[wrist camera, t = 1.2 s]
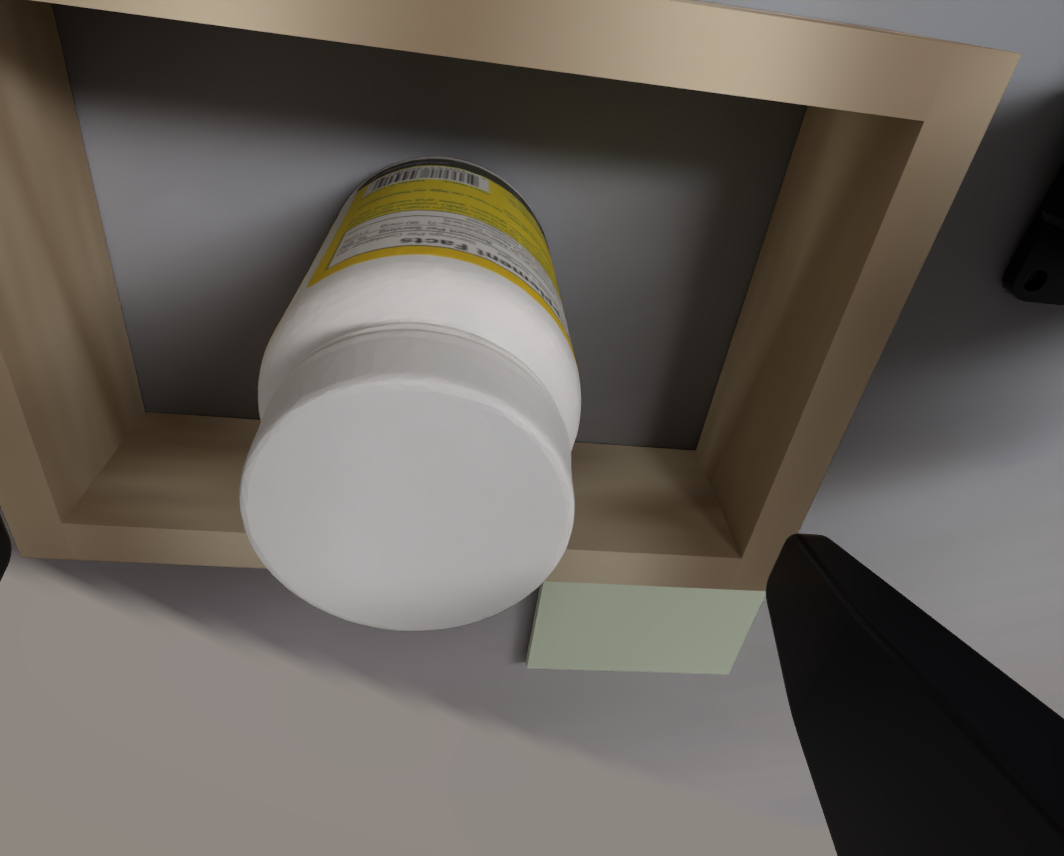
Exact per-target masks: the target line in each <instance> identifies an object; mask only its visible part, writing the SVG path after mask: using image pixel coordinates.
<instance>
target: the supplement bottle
mask: <svg viewBox="0 0 1064 856" xmlns="http://www.w3.org/2000/svg"><path fill="white" fill-rule="evenodd" d="M258 406H259V415H260V420H261V424H260V426H259V429H258V431H257V433H256V436H255V438H254V440H253V442H252V445H251V447H250V450H249V452H248V455H247V458H246V461H245V464H244V466H243V469H242V475H241V480H240V488H239V502H240V513H241V517H242V521H243V527H244V529H245V532H246V534H247V537H248V539H249V542H250V544H251V546H252V548H253V549H254V551H255V552H256V554H257V556H258V557H259V559H260V560H261V562H262V563H263V564H264V566H265V567H266V568H267V569H268V570H269V571H270V572H271V573H272V574H273V575H274V577H275V578H276V579H278V580H279V581H280V582H281V583H282V584H283V585H284V586H285V587H286V588H287V589H289V590H290V591H291V592H293V593H294V594H295V595H297V596H298V597H300V598H301V599H303V600H305V601H306V602H308V603H309V604H311V605H313V606H315V607H317V608H319V609H321V610H323V611H325V612H327V613H329V614H331V615H334V616H337V617H339V618H342V619H345V620H347V621H350V622H354V623H358V624H362V625H366V626H371V627H375V628H379V629H388V630H399V631H423V630H438V629H446V628H454V627H458V626H463V625H467V624H470V623H473V622H477V621H480V620H483V619H485V618H488V617H491V616H493V615H496V614H498V613H500V612H502V611H504V610H505V609H507V608H509V607H511V606H513V605H515V604H516V603H518V602H520V601H521V600H522V599H524V598H525V597H527V596H528V595H529V594H530V593H532V592H533V591H534V590H535V589H537V588H538V587H539V586H540V585H541V584H542V583H543V582H544V581H545V579H546V578H547V577H548V576H549V575H550V574H551V572H552V571H553V570H554V568H555V567H556V565H557V564H558V563H559V561H560V559H561V557H562V556H563V554H564V552H565V550H566V548H567V545H568V542H569V539H570V535H571V532H572V527H573V522H574V515H575V500H574V492H573V483H572V471H571V451H572V448H573V445H574V442H575V439H576V436H577V433H578V427H579V422H580V414H581V387H580V379H579V372H578V368H577V363H576V359H575V355H574V351H573V347H572V342H571V338H570V334H569V330H568V326H567V322H566V318H565V314H564V310H563V306H562V302H561V297H560V293H559V289H558V285H557V281H556V277H555V272H554V268H553V264H552V260H551V257H550V253H549V248H548V245H547V241H546V238H545V235H544V232H543V230H542V227H541V225H540V223H539V221H538V219H537V217H536V215H535V214H534V212H533V210H532V208H531V207H530V206H529V204H528V203H527V202H526V200H525V199H524V198H523V197H522V196H521V194H520V193H519V192H518V191H517V190H515V189H514V188H513V187H512V186H511V185H510V184H509V183H508V182H506V181H505V180H504V179H502V178H501V177H500V176H498V175H497V174H495V173H493V172H491V171H489V170H488V169H486V168H483V167H481V166H479V165H477V164H474V163H471V162H468V161H465V160H461V159H457V158H452V157H442V156H428V157H418V158H412V159H407V160H404V161H400V162H397V163H395V164H392V165H390V166H388V167H385V168H383V169H382V170H380V171H378V172H376V173H375V174H373V175H372V176H371V177H369V178H368V179H367V180H365V181H364V182H363V183H362V184H361V185H360V186H359V187H358V188H357V189H356V190H355V191H354V192H353V193H352V194H351V196H350V197H349V198H348V200H347V201H346V203H345V204H344V206H343V207H342V209H341V211H340V213H339V215H338V216H337V218H336V220H335V222H334V223H333V225H332V227H331V228H330V230H329V233H328V235H327V237H326V238H325V240H324V242H323V244H322V246H321V248H320V250H319V252H318V254H317V255H316V257H315V259H314V261H313V263H312V265H311V266H310V268H309V270H308V272H307V274H306V276H305V277H304V279H303V281H302V283H301V285H300V286H299V288H298V290H297V292H296V293H295V295H294V297H293V299H292V301H291V302H290V304H289V306H288V308H287V309H286V311H285V313H284V315H283V316H282V318H281V320H280V322H279V323H278V325H277V327H276V329H275V330H274V332H273V334H272V336H271V338H270V340H269V343H268V345H267V347H266V350H265V353H264V356H263V359H262V363H261V368H260V374H259V381H258Z"/></svg>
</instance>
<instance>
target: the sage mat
mask: <svg viewBox="0 0 1064 856" xmlns="http://www.w3.org/2000/svg"><path fill="white" fill-rule="evenodd" d="M765 595H766V591H748V590H726V589H704V588H682V587H660V586H638V585H616V584H594V583H572V582H550V581H544V582H543V583H542V584H541V585H540V589H539V594H538V599H537V604H536V609H535V615H534V620H533V625H532V630H531V636H530V641H529V646H528V651H527V656H526V664H527V668H530V669H563V670H596V671H629V672H663V673H696V674H729V673H730V670H731V668H732V666H733V664H734V662H735V660H736V658H737V655H738V653H739V651H740V649H741V647H742V645H743V642H744V640H745V638H746V636H747V634H748V632H749V630H750V627H751V625H752V623H753V621H754V619H755V617H756V614H757V612H758V610H759V608H760V606H761V604H762V602H763V599H764V597H765Z"/></svg>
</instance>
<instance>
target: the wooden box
mask: <svg viewBox="0 0 1064 856" xmlns="http://www.w3.org/2000/svg"><path fill="white" fill-rule="evenodd" d="M51 3H55V4H62V5H70V6H77V7H85V8H92V9H99V10H107V11H114V12H122V13H129V14H136V15H144V16H151V17H158V18H166V19H173V20H181V21H188V22H195V23H203V24H210V25H218V26H225V27H232V28H240V29H247V30H254V31H262V32H269V33H277V34H284V35H291V36H299V37H306V38H314V39H321V40H328V41H336V42H343V43H350V44H358V45H365V46H373V47H380V48H387V49H395V50H402V51H410V52H417V53H424V54H432V55H439V56H446V57H454V58H461V59H469V60H476V61H483V62H491V63H498V64H506V65H513V66H520V67H528V68H535V69H542V70H550V71H557V72H565V73H572V74H579V75H587V76H594V77H602V78H609V79H616V80H624V81H631V82H638V83H646V84H653V85H661V86H668V87H675V88H683V89H690V90H698V91H705V92H712V93H720V94H727V95H734V96H742V97H749V98H757V99H764V100H771V101H779V102H786V103H793V104H801V105H808V106H807V109H806V112H805V115H804V118H803V122H802V125H801V128H800V131H799V134H798V137H797V140H796V143H795V146H794V149H793V152H792V155H791V159H790V162H789V165H788V168H787V171H786V174H785V177H784V180H783V183H782V186H781V189H780V192H779V196H778V199H777V202H776V205H775V208H774V211H773V214H772V217H771V220H770V223H769V226H768V229H767V233H766V236H765V239H764V242H763V245H762V248H761V251H760V254H759V257H758V260H757V263H756V266H755V270H754V273H753V276H752V279H751V282H750V285H749V288H748V291H747V294H746V297H745V300H744V303H743V307H742V310H741V313H740V316H739V319H738V322H737V325H736V328H735V331H734V334H733V337H732V340H731V344H730V347H729V350H728V353H727V356H726V359H725V362H724V365H723V368H722V371H721V374H720V377H719V381H718V384H717V387H716V390H715V393H714V396H713V399H712V402H711V405H710V408H709V411H708V414H707V418H706V421H705V424H704V427H703V430H702V433H701V436H700V439H699V442H698V445H697V448H696V451H694V450H680V449H666V448H651V447H637V446H623V445H609V444H595V443H580V442H574V445H573V448H572V451H571V471H572V483H573V492H574V500H575V515H574V522H573V527H572V532H571V535H570V539H569V542H568V545H567V548H566V550H565V552H564V554H563V556H562V557H561V559H560V561H559V563H558V564H557V565H556V567H555V568H554V570H553V571H552V572H551V574H550V575H549V576H548V577H547V578H546V579H545V581H550V582H572V583H594V584H616V585H638V586H660V587H682V588H704V589H726V590H748V591H766V584H767V580H768V577H769V575H770V573H771V571H772V568H773V566H774V564H775V562H776V560H777V557H778V555H779V553H780V551H781V549H782V547H783V544H784V542H785V541H786V539H787V538H788V537H789V536H790V535H792V534H798V531H799V529H800V527H801V525H802V523H803V521H804V519H805V516H806V514H807V512H808V510H809V508H810V506H811V504H812V502H813V499H814V497H815V495H816V493H817V491H818V489H819V487H820V484H821V482H822V480H823V478H824V476H825V474H826V472H827V469H828V467H829V465H830V463H831V461H832V459H833V457H834V455H835V452H836V450H837V448H838V446H839V444H840V442H841V440H842V437H843V435H844V433H845V431H846V429H847V427H848V425H849V422H850V420H851V418H852V416H853V414H854V412H855V410H856V407H857V405H858V403H859V401H860V399H861V397H862V395H863V393H864V390H865V388H866V386H867V384H868V382H869V380H870V378H871V375H872V373H873V371H874V369H875V367H876V365H877V363H878V360H879V358H880V356H881V354H882V352H883V350H884V348H885V345H886V343H887V341H888V339H889V337H890V335H891V333H892V331H893V328H894V326H895V324H896V322H897V320H898V318H899V316H900V313H901V311H902V309H903V307H904V305H905V303H906V301H907V298H908V296H909V294H910V292H911V290H912V288H913V286H914V284H915V281H916V279H917V277H918V275H919V273H920V271H921V269H922V266H923V264H924V262H925V260H926V258H927V256H928V254H929V251H930V249H931V247H932V245H933V243H934V241H935V239H936V236H937V234H938V232H939V230H940V228H941V226H942V224H943V222H944V219H945V217H946V215H947V213H948V211H949V209H950V207H951V204H952V202H953V200H954V198H955V196H956V194H957V192H958V189H959V187H960V185H961V183H962V181H963V179H964V177H965V174H966V172H967V170H968V168H969V166H970V164H971V162H972V160H973V157H974V155H975V153H976V151H977V149H978V147H979V145H980V142H981V140H982V138H983V136H984V134H985V132H986V130H987V127H988V125H989V123H990V121H991V119H992V117H993V115H994V113H995V110H996V108H997V106H998V104H999V102H1000V100H1001V98H1002V95H1003V93H1004V91H1005V89H1006V87H1007V85H1008V83H1009V80H1010V78H1011V76H1012V74H1013V72H1014V70H1015V68H1016V65H1017V63H1018V61H1019V59H1020V57H1021V55H1022V54H1020V53H1015V52H1009V51H1003V50H998V49H992V48H987V47H981V46H976V45H970V44H964V43H959V42H953V41H948V40H942V39H936V38H931V37H925V36H920V35H914V34H909V33H903V32H897V31H892V30H886V29H880V28H873V27H867V26H860V25H854V24H847V23H840V22H834V21H827V20H821V19H814V18H807V17H801V16H794V15H788V14H781V13H774V12H768V11H761V10H755V9H748V8H741V7H735V6H728V5H722V4H715V3H708V2H702V1H695V0H0V506H1V509H2V511H3V514H4V516H5V518H6V521H7V523H8V526H9V528H10V531H11V533H12V536H13V538H14V540H15V543H16V545H17V548H18V550H19V553H20V555H21V557H25V558H47V559H68V560H90V561H112V562H134V563H156V564H178V565H200V566H222V567H244V568H266V567H265V566H264V564H263V563H262V562H261V560H260V559H259V557H258V556H257V554H256V552H255V551H254V549H253V548H252V546H251V544H250V542H249V539H248V537H247V534H246V532H245V529H244V527H243V521H242V517H241V513H240V502H239V488H240V480H241V475H242V469H243V466H244V464H245V461H246V458H247V455H248V452H249V450H250V447H251V445H252V442H253V440H254V438H255V436H256V433H257V431H258V429H259V426H260V424H261V420H254V419H240V418H226V417H211V416H197V415H183V414H169V413H155V412H145V410H144V405H143V401H142V396H141V392H140V388H139V383H138V379H137V375H136V370H135V366H134V362H133V357H132V353H131V348H130V344H129V340H128V335H127V331H126V327H125V322H124V318H123V314H122V309H121V305H120V300H119V296H118V292H117V287H116V283H115V279H114V274H113V270H112V266H111V261H110V257H109V252H108V248H107V244H106V239H105V235H104V231H103V226H102V222H101V217H100V213H99V209H98V204H97V200H96V196H95V191H94V187H93V183H92V178H91V174H90V169H89V165H88V161H87V156H86V152H85V148H84V143H83V139H82V135H81V130H80V126H79V121H78V117H77V113H76V108H75V104H74V100H73V95H72V91H71V87H70V82H69V78H68V73H67V69H66V65H65V60H64V56H63V52H62V47H61V43H60V39H59V34H58V30H57V25H56V21H55V17H54V12H53V8H52V4H51ZM266 569H267V568H266Z"/></svg>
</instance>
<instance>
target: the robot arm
mask: <svg viewBox="0 0 1064 856" xmlns="http://www.w3.org/2000/svg"><path fill="white" fill-rule="evenodd" d="M1035 271H1036V272H1035ZM1033 272H1035V275H1034V276H1033V277H1032V279H1031V280H1030V281H1028V282H1026V283H1025V280H1026V278H1027V277H1028V276H1029V275H1030V274H1031V273H1033ZM1024 283H1025V284H1024ZM1002 287H1003V288H1004V289H1005V291H1006V292H1007V293H1009V294H1011V295H1012V296H1014V297H1015V298H1017V299H1019V300H1022V301H1026V302H1036V303H1046V304H1055V305H1064V163H1063V165H1062V167H1061V168H1060V170H1059V172H1058V174H1057V176H1056V178H1055V180H1054V181H1053V183H1052V185H1051V187H1050V189H1049V191H1048V193H1047V194H1046V196H1045V198H1044V200H1043V202H1042V204H1041V205H1040V207H1039V209H1038V211H1037V213H1036V215H1035V217H1034V218H1033V220H1032V222H1031V224H1030V226H1029V228H1028V229H1027V231H1026V233H1025V235H1024V237H1023V239H1022V241H1021V242H1020V244H1019V246H1018V248H1017V250H1016V252H1015V254H1014V255H1013V257H1012V259H1011V261H1010V263H1009V265H1008V266H1007V268H1006V270H1005V272H1004V275H1003V278H1002ZM11 550H12V548H11V540H10V537H9V535H8V532H7V530H6V528H5V525H4V523H3V520H2V518H1V515H0V581H1V579H2V577H3V575H4V572H5V570H6V568H7V566H8V564H9V561H10V557H11ZM766 600H767V605H768V609H769V614H770V619H771V623H772V628H773V633H774V637H775V642H776V647H777V651H778V656H779V660H780V665H781V670H782V674H783V679H784V684H785V688H786V693H787V697H788V701H789V706H790V710H791V714H792V717H793V721H794V724H795V727H796V731H797V734H798V737H799V740H800V743H801V746H802V749H803V752H804V755H805V758H806V761H807V764H808V767H809V770H810V773H811V777H812V780H813V783H814V786H815V789H816V792H817V795H818V798H819V801H820V804H821V807H822V810H823V813H824V816H825V819H826V822H827V825H828V828H829V831H830V834H831V837H832V840H833V843H834V846H835V849H836V852H837V855H838V856H1064V718H1062V717H1061V716H1060V715H1058V714H1057V713H1056V712H1054V711H1053V710H1052V709H1050V708H1049V707H1048V706H1047V705H1045V704H1044V703H1043V702H1041V701H1040V700H1039V699H1037V698H1036V697H1035V696H1034V695H1032V694H1031V693H1030V692H1028V691H1027V690H1026V689H1024V688H1023V687H1022V686H1021V685H1019V684H1018V683H1017V682H1015V681H1014V680H1013V679H1011V678H1010V677H1009V676H1008V675H1006V674H1005V673H1004V672H1002V671H1001V670H1000V669H998V668H997V667H996V666H995V665H993V664H992V663H991V662H989V661H988V660H987V659H985V658H984V657H983V656H982V655H980V654H979V653H978V652H976V651H975V650H974V649H972V648H971V647H970V646H968V645H967V644H966V643H965V642H963V641H962V640H961V639H959V638H958V637H957V636H955V635H954V634H953V633H952V632H950V631H949V630H948V629H946V628H945V627H944V626H942V625H941V624H940V623H939V622H937V621H936V620H935V619H933V618H932V617H931V616H929V615H928V614H927V613H926V612H924V611H923V610H922V609H920V608H919V607H918V606H916V605H915V604H914V603H913V602H911V601H910V600H909V599H907V598H906V597H905V596H903V595H902V594H901V593H899V592H898V591H897V590H896V589H894V588H893V587H892V586H890V585H889V584H888V583H886V582H885V581H884V580H883V579H881V578H880V577H879V576H877V575H876V574H875V573H873V572H872V571H871V570H870V569H868V568H867V567H866V566H864V565H863V564H862V563H860V562H859V561H858V560H857V559H855V558H854V557H853V556H851V555H850V554H849V553H847V552H846V551H845V550H844V549H842V548H841V547H840V546H838V545H837V544H836V543H834V542H833V541H832V540H830V539H829V538H827V537H825V536H822V535H814V534H792V535H790V536H789V537H788V538H787V539H786V541H785V542H784V544H783V547H782V549H781V551H780V553H779V555H778V557H777V560H776V562H775V564H774V566H773V568H772V571H771V573H770V575H769V577H768V580H767V584H766Z"/></svg>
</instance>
